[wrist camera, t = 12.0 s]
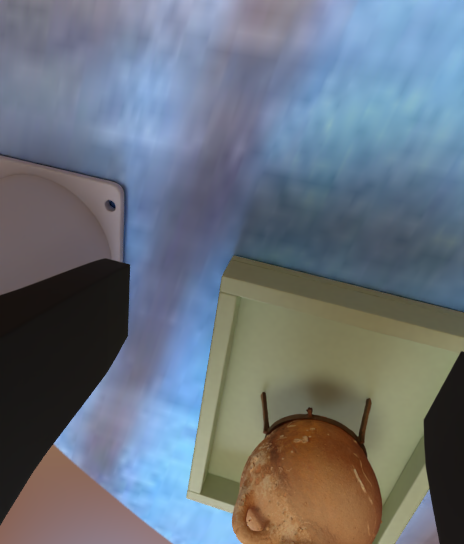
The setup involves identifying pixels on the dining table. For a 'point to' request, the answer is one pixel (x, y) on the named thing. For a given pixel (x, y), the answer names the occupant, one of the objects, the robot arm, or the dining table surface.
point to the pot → (308, 484)
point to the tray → (321, 377)
